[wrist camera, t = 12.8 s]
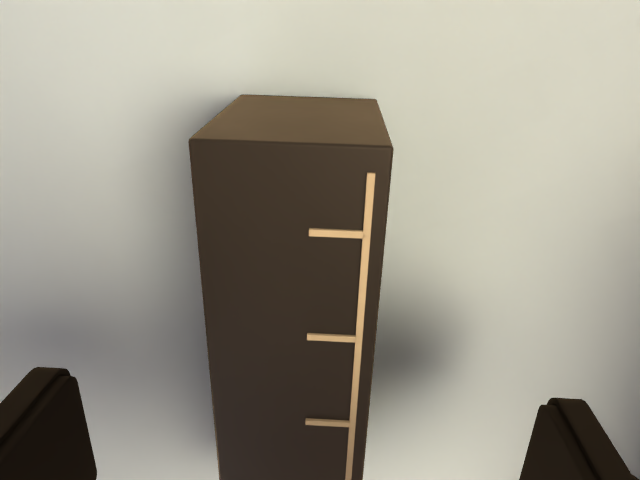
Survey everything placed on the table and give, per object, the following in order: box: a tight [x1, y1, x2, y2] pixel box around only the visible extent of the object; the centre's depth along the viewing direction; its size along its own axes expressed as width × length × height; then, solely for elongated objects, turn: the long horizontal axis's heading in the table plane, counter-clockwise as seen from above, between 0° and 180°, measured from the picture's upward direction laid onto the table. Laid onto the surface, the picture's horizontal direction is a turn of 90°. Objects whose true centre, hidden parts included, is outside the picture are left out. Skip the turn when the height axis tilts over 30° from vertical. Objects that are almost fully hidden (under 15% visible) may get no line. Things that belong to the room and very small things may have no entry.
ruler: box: [189, 95, 393, 480], centre depth 11 cm, size 11×3×4 cm, turn 178°
